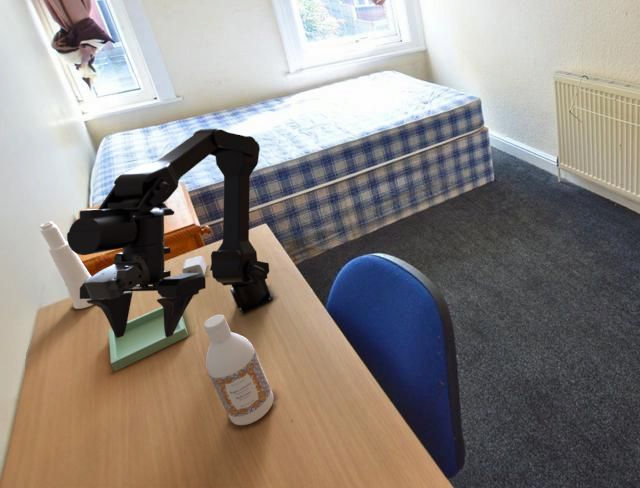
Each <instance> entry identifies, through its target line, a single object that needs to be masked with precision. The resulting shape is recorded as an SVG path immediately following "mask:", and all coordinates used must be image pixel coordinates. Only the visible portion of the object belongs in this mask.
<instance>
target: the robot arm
mask: <svg viewBox="0 0 640 488" xmlns="http://www.w3.org/2000/svg"><path fill="white" fill-rule="evenodd" d="M260 151H261V148H260V143H259V142H258V141H256V139H255V138H254V137H253V136H251V135H243V134H237V133H233V132H228V131H226V130H224V129H221V128H218V127H217V128H204V129H203V128H201V129H198V130H196V131H195V132H194V133H193V135H192V136H189V138H188V139H186V140H184V141H183V142H181V143H180V144H179V145H177V146H176V147H175V148H173V149H172V150H170V151H169V152H167V153H166V154H164V155H163V156H162V157H160V158H159V159H157V160H156V161H154V162H152V163H149V164H145V165H142V166H141V165H140V166H137V167H135V168H133V169H131V170H128V171H126V172H124V173H122V174H120V175H119V176H118V177H117V178H115V180H114V182H113V184H114V185H113V187H112V188H111V190H110V191H109V192H108V194H107V195H106V197H105V199H104V200H103V201H102V203H101V204H100V206H99V207H98V209H97V208H96V209H82V210H80V211H79V218H78V219H76V220H74V222H73V223H72V224H71V225H70V228H69V230H68V232H67V233H66V239H67V242H68V244H69V247H70V248H71V250H72V251H74V252H75V253H76V254H77V255H78V256H88V255H94V254H98V253H99V254H100V253H105V252H110V251H114V250H120V249H121V252H117V253H115V254H114V256H113V263H112V265H110V266H108V267H106V268H103V269H102V270H100V271H98V272H96V273H95V274H93V275H91V277H90V278H88V279H87V280H85V281H84V283H83V285H82V286H81V287H80V299H91V300H87V303H89V304H94V305H93V306H96V307H97V308H99V309H101V311H102V312H103V314H104V315H105V317H106V319H107V322H108V323H109V325H110V327H111V328H110V329H112V330H113V332H114V334H115V336H116V338H119V337H122V336H124V333H125V330H126V326H127V322H128V321H129V315H130V308H131V303H132V298H133V292H155V291H156V292H157V294H158V295H159V296H160V297H161V298H158V299H156V302H157V303H158V304H160V305H161V307H162V306H163V312H164V331H165V336H166V337H170V336H172V335H173V333H174V331H175V329H176V327H177V325H178V323H179V321H180V319H181V317H182V316H183V315H184V313H185V311H186V309H187V307H188V306H189V304H190V303H191V301H192V299H193V297H194V296H195V295H198V294H199V293H200V291H202V290H204V289H206V288H207V287H206V286H207V285H206V277H205V275H204V276H203V275H202V274H201V273H183V272H182V273H181V274H180V273H179V274H176V275H173V276H172V275H171V274H172V273H171V271H172V270H165V255H168V254H171V247H170V246H169V247H168V246H167V247H166V246H165V217H167V216H173V215H175V210H173V209H172V208H170V207H169V206H167V205H166V203H165V202H167V200H169V199H170V198H171V197H172V195H174V193H175V192H176V190H177V189H178V188H179V181H180V179H181V178H183V176H185V175H186V174H187V173H189V172H190V171H191V170H192V169H193V168H195V167H196V166H197V165H198V164H200V163H201V162H202V161H204V160H205V159H206V158H207V157H208V156H213V157H215V165H216V166H217V168H218V169H219V171H220V173H221V174H222V175H223V205H222V206H223V207H222V208H223V209H222V210H223V212H222V242H221V244H220V246H219V247H218V248H217V250H212V251H211V254H210V260H211V263H210V264H211V265H210V268H209V271H211V275H212V278H213V279H214V280H215V281H216V282H217V283H220V284H221V285H222V286H225V287H226V286H231V288H230V290H229V291H230V293H231V295H232V298H233V301H234V303H235V305H236V307H237V309H239V310H241V312H242V314H246V313H249V312H250V311H252V310H254V309H257V308H259V307H260V306H263V305H265V304H267V303H269V302H271V301H273V300H274V296H273V294H272V293H271V291H270V290H269V287H268V284H267V281H266V280H267V279H268V274H269V273H270V263H269V262H265V261H261V260H258V255H257V253H258V252H257V250H256V249H255V246H253V244H252V243H251V241H250V193H251V191H250V189H251V187H250V186H251V182H250V181H251V175H252V174H253V172H254V171H255V169H256V167H257V166H258V164H259V157H260Z"/></svg>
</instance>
